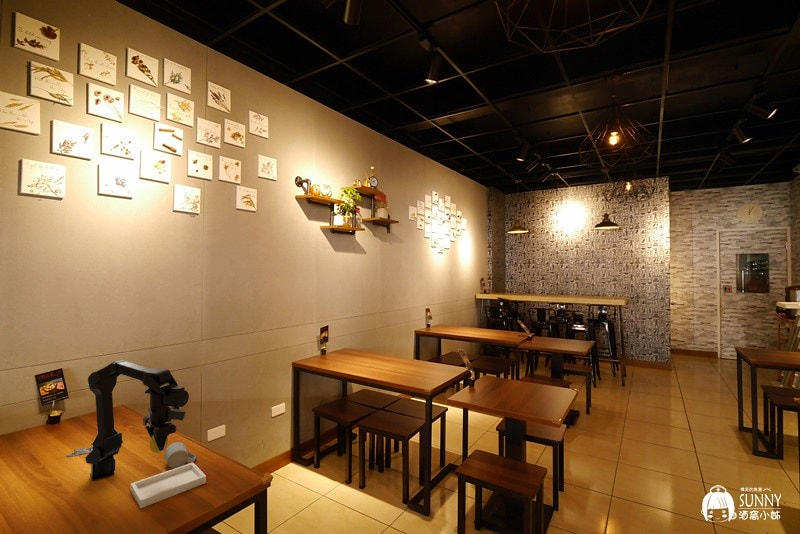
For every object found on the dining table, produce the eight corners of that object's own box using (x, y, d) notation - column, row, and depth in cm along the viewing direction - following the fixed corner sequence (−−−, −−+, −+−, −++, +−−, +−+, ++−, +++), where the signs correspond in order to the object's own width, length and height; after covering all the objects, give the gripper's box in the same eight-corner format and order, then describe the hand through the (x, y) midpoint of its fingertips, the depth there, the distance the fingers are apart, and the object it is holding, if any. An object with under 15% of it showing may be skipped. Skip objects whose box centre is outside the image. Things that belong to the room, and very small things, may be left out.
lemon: (155, 450, 135) (155, 428, 135) (170, 449, 136) (171, 428, 136) (146, 457, 130) (146, 435, 130) (162, 456, 130) (162, 434, 130)
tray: (140, 508, 118) (140, 500, 118) (130, 490, 127) (130, 483, 127) (206, 482, 132) (206, 475, 132) (192, 468, 142) (192, 462, 142)
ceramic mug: (166, 472, 139) (167, 452, 139) (163, 463, 145) (164, 444, 146) (197, 463, 146) (198, 444, 146) (193, 456, 152) (194, 437, 152)
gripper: (192, 404, 133) (191, 447, 132) (175, 394, 145) (175, 433, 145) (156, 413, 125) (156, 459, 124) (142, 401, 137) (142, 443, 137)
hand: (158, 447), depth 133 cm, fingers closed on lemon, 5 cm apart
